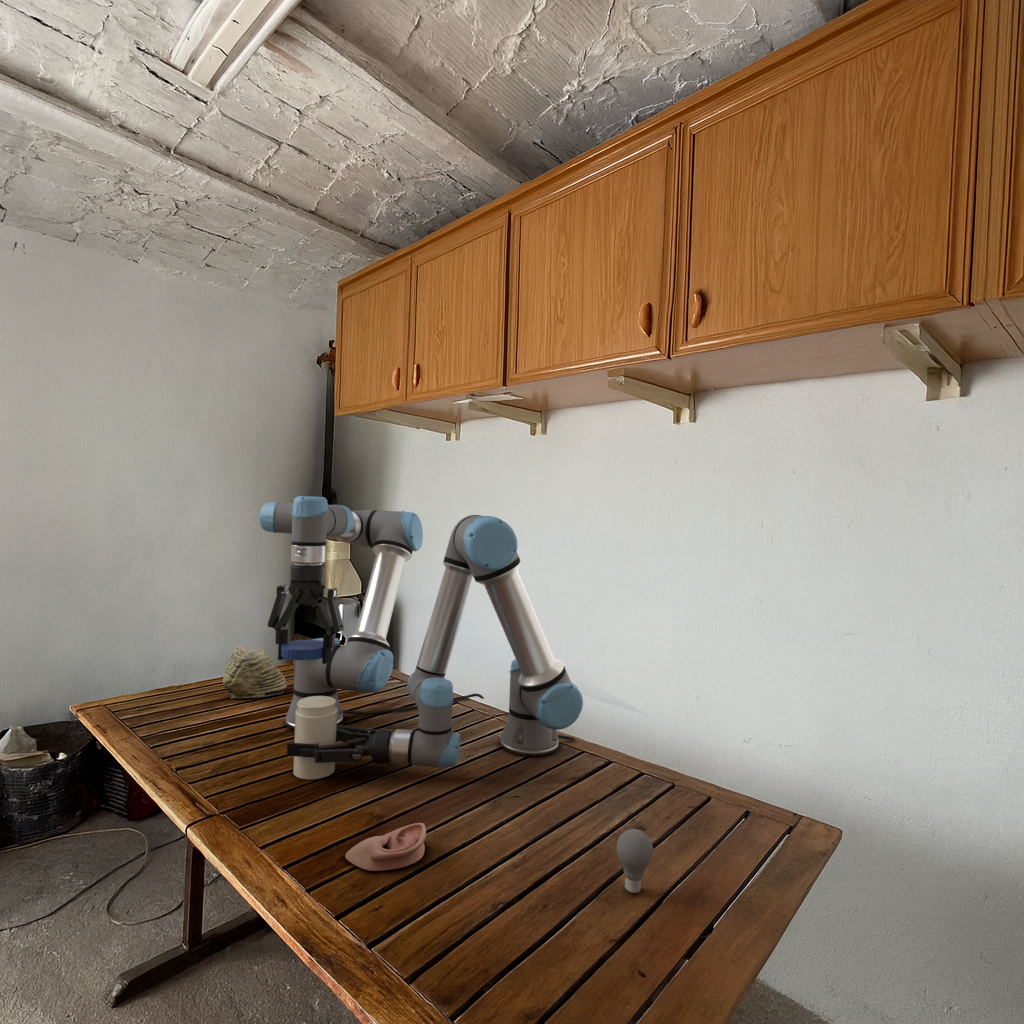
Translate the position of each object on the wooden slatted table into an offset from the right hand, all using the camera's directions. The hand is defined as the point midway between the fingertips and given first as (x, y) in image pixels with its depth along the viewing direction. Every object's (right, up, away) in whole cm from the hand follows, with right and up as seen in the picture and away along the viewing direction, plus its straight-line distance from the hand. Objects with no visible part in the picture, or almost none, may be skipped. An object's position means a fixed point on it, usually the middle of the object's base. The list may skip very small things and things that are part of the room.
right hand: (296, 740), depth 146 cm
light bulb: (+70, -10, -41) cm, 82 cm away
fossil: (-31, -4, +52) cm, 60 cm away
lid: (+2, +22, -1) cm, 22 cm away
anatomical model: (+27, -8, -33) cm, 44 cm away
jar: (+4, -7, 0) cm, 8 cm away
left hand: (+2, +19, -1) cm, 19 cm away
